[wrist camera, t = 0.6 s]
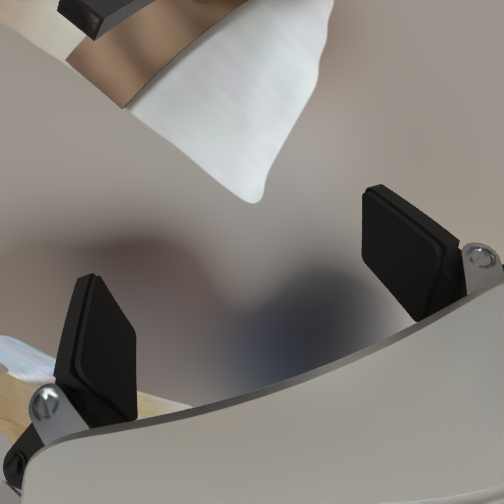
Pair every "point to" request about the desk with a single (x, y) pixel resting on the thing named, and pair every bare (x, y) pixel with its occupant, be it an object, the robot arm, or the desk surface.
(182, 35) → the press base
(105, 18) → the lever
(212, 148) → the desk surface
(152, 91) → the desk surface
